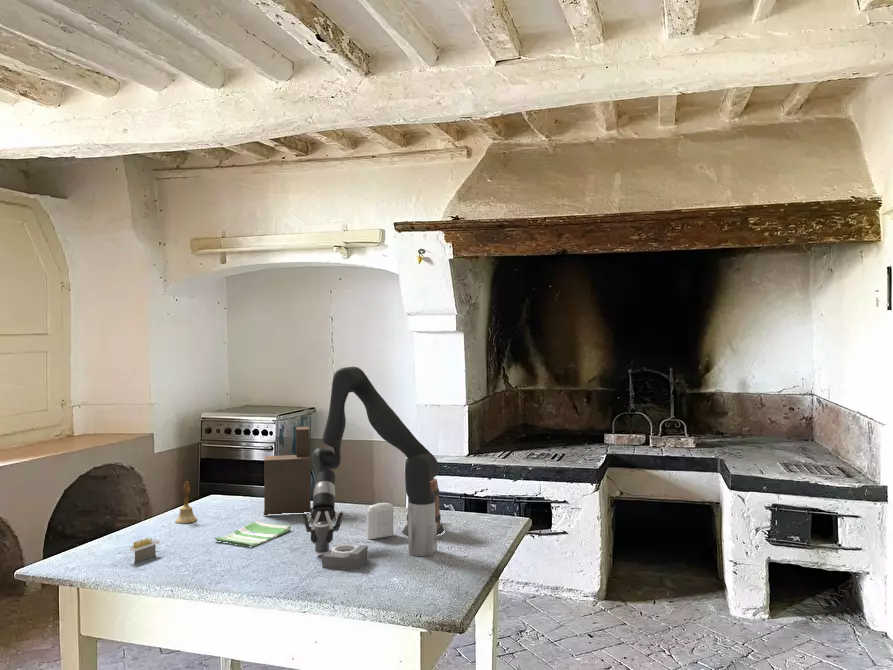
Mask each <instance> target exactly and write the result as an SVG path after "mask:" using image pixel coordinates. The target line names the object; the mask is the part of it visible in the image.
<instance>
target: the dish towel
mask: <svg viewBox="0 0 893 670" xmlns="http://www.w3.org/2000/svg"><path fill="white" fill-rule="evenodd" d="M291 528H292V525H289V524H278V523H269V522H264V521H258V520H257V521H253V522H251V523H249V524H248V525H244V526H243V527H240V528H239V529H236V530H235V531H233V532H231V533H230V534H227V535H224V536H216V537H214V540H216V541H221V542H228V543H231V544H237V545H244V546H251V547H253V546H255V545H257V546H259V545H258V544H260V543H263V542H265V541H267V540H270V539H272V538H274V537H277V536H279V535H281V534H283V535H285V534H286V533H288V532H289V531H290V530H291ZM253 531H254V532H257V533H255V534H253V533H249V532H253ZM284 533H285V534H284ZM281 536H282V535H281ZM279 537H280V536H279ZM277 538H278V537H277ZM274 539H275V538H274ZM272 540H273V539H272ZM270 541H271V540H270ZM267 542H268V541H267ZM265 543H266V542H265ZM231 544H230V545H231ZM263 544H264V543H263ZM237 545H236V546H237ZM260 545H261V544H260ZM244 546H243V547H244ZM255 547H256V546H255ZM253 548H254V547H253Z"/></svg>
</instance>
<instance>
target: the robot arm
mask: <svg viewBox="0 0 893 670" xmlns="http://www.w3.org/2000/svg"><path fill="white" fill-rule="evenodd" d="M331 383H332V384H331V393H330V394H331V395H330V401H329V402H330V403H329V409H328V415H327V420H326V424H325V427H324V431H323V434H322V438H321V439H322V442H323V444H325V445H326V446H329V447H331V448H333V449H329V448H324V447H323V448H322V447H317V448H315V450H314V451H313V453H312V455H311V462H312V463H311V465H312V467H313V471H314V475H315V479H314V488H313V498H312V509H311V514H302V516H303V517H302V518H303V522H304V526H305V530H306V533H310V541H311V543H312V544H315V522H318V521H328V522H329V534H328V543H329V544H331V542H332V541H333V540H334V532H338V531H339V530H340V527H341V524H342V521H343V520H344V519H343V518H344V514H343V512H342V511H341V512H336V510H335V503H336V488H335V487H336V473H335V472H334V471H333V470H336V469H338V468H339V467H340V464H341V459H342V458H341V456H342V455H341V454H342V453H341V449H342V448H341V445H342V440H343V437H344V433H345V429H346V424H347V421H346V420H347V419H346V413H345V405H346V401H347V399H348V396H349V394H350V393H353V394H355V395H356V396H357V398H358V399H359V400H360V401H361V402H362V404H363V406H364V408H365V410H366V415H367V419H368V421H369V424H370V425H371V427H372V429H374V431H375V432H376V433H377V434H378V435H379V436H380V438H382V439H383V440H384V441H385V442H387V443H388V444H389V445H391V446H392V447H395V448H396V449H398V450H399V451H400V452H402V453H403V454H404V456H405V457H406V458H407V459H408V460H407V462H406V465H405V469H404V474H405V475H404V477H405V478H404V481H405V492H406V496H407V500H408V501H407V514H408V537H407V538H408V540H407V541H408V543H407V548H408V550H407V551H408V554H410V555H412V556H415V557H416V556H417V557H428V556H431V555H432V556H434V554H435V553H436V552H437V550H438V537H437V523H436V522H435V494H434V493H433V492H432V491H431V490H430V479H432V478H436V476H437V475H438V474H439V470H440V467H439V462H438V460H437V458H436V457H435V456H434V455H433V454H432V453H431V452H430V451H429V449H427V448H426V447H425V446H424V445H423V444H422V443H421V442H420V441H419V440H418V438H416V436H415V435H414V434H413V433H412V432H411V430H410V429H409V428H408V427H407V425H405V423H404V422H403V421H402V419H401V418H400V417H399V416H398V414H397V413H395V411H394V410H393V409H392V407H390V405H389V404H388V403H387V402H386V400H385V399H384V398H383V397H382V396H381V395H380V393H379V392H378V391H377V389H376V388H375V387H374V385H373V383H372V382H371V381H370V379H369V377H368V376H367V375H366V373H365V372H364V371H363V370H362V368H360V367H358V366H347V367H346V366H345V367H341V368H338V369H337V370H336V371H335V372H334V374H333V378H332V382H331ZM334 518H336V519H335V520H336V521H335V524H334V525H333V523H332V521H333V520H334ZM311 519H312V520H313V522H312V525H311V526H310V522H309V521H311Z"/></svg>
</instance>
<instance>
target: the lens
mask: <svg viewBox="0 0 893 670" xmlns="http://www.w3.org/2000/svg"><path fill="white" fill-rule="evenodd" d="M328 534H329V522H328V521H318V522H315V543H314V548H315V549H314V553H315V554H316V555H318V556H321V555H322V556H323V555H324V554H326V553H327V552H328V551H330V543H328Z"/></svg>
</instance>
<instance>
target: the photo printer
mask: <svg viewBox="0 0 893 670" xmlns="http://www.w3.org/2000/svg"><path fill="white" fill-rule="evenodd" d="M393 535H394V506H393V504H392V503H387V502H378V503H374V504H371V505H369V506H368V507H367V509H366V538H367V539H368V540H375V539H380V538H387V537H393Z"/></svg>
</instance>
